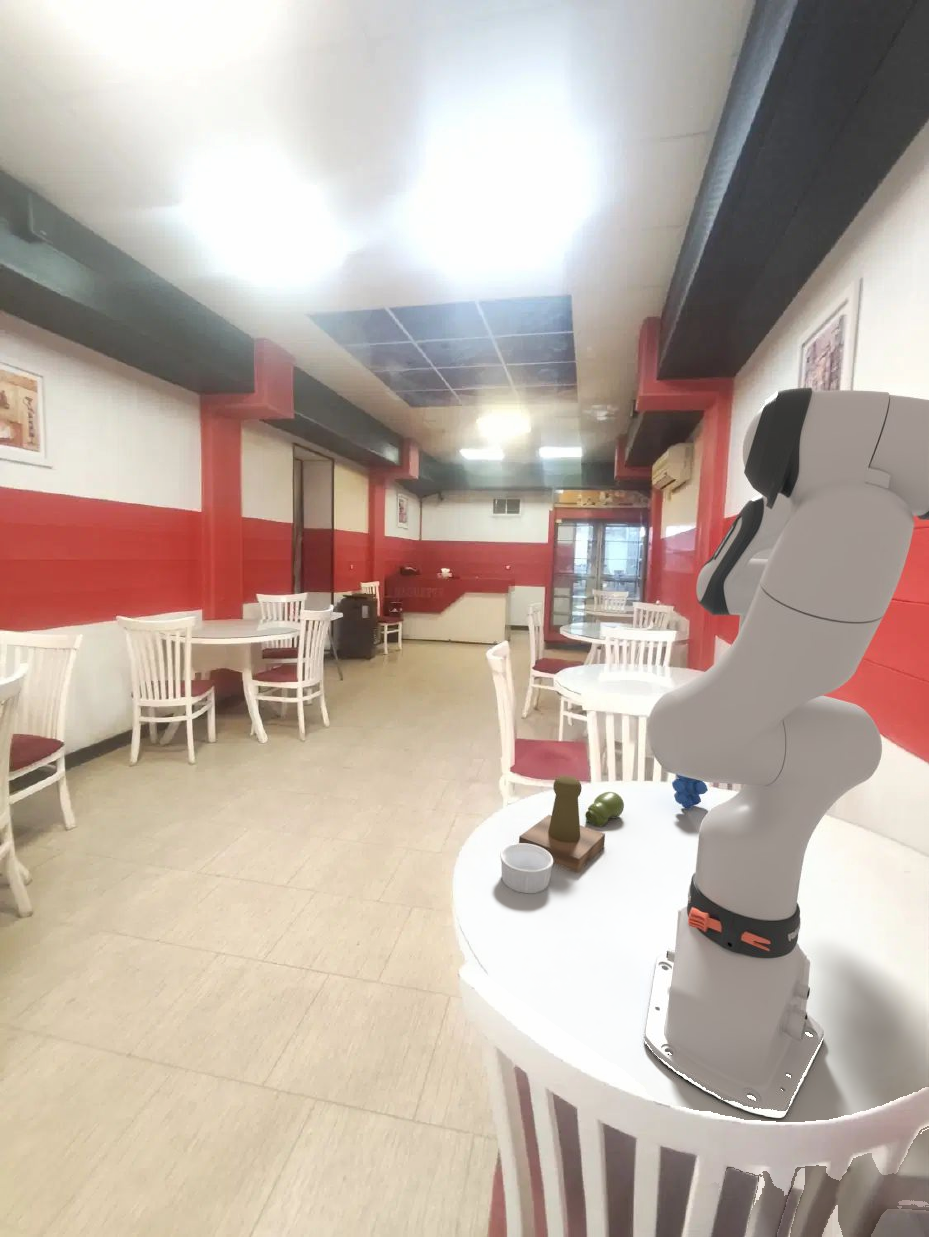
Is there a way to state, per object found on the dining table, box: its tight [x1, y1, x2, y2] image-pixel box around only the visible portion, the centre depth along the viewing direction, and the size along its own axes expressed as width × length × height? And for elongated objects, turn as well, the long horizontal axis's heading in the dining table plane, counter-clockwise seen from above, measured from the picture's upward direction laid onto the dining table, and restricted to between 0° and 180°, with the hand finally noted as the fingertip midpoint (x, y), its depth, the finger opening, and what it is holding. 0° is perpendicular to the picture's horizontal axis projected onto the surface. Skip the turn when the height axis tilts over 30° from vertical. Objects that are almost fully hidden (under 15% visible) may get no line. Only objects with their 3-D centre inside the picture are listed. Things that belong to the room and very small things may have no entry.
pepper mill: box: [548, 775, 582, 842], centre depth 102 cm, size 6×6×11 cm
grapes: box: [671, 774, 708, 810], centre depth 122 cm, size 12×7×12 cm, turn 126°
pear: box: [584, 791, 625, 827], centre depth 116 cm, size 6×5×10 cm
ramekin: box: [499, 842, 554, 894], centre depth 91 cm, size 9×9×4 cm
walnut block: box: [518, 814, 606, 873], centre depth 103 cm, size 12×12×2 cm
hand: (758, 706), depth 100 cm, fingers open, 8 cm apart
